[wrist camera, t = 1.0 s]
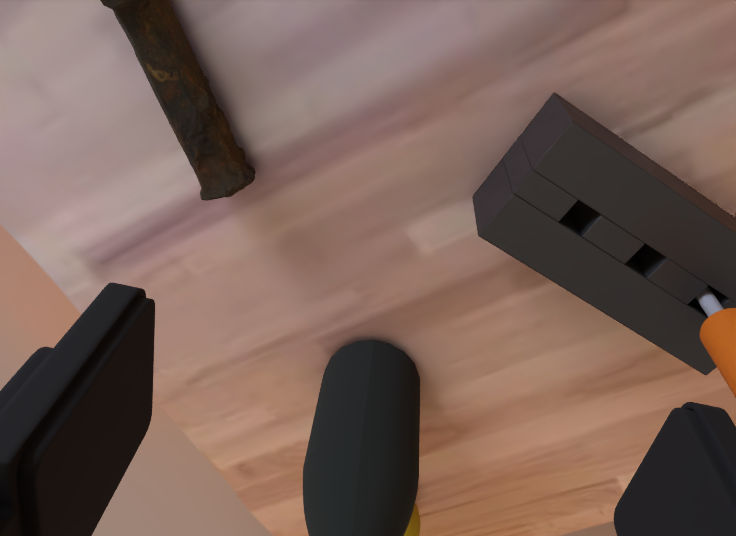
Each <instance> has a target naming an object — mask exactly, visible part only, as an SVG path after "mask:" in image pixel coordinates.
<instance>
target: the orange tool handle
mask: <svg viewBox="0 0 736 536" xmlns="http://www.w3.org/2000/svg"><path fill="white" fill-rule="evenodd" d="M695 298H696V299H697V301H698V302H699V304H700V305H701V307H702V308H703V310H704V311H705V313H706V314H707V316H708V318H707V319H706V320H705V321H704V323H703V324H702V326H701V329H700V339H701V342H702V343H703V345H704V347H705V348H706V350H707V351H708V353H709V355H710V356H711V358H712V360H713V361H714V363H715V365H716V366H717V368H718V369H719V371H720V373H721V374H722V376H723V378H724V379H725V381H726V382H727V384H728V386H729V387H730V389H731V391H732V392H733V394H734V396H735V397H736V308H728V309H724V308H723V307H722V306H721V304H720V303H719V301H718V300H717V299H716V297H715V296H714V294H713V293H712V292H711V290H710V289H709V287H708V286H707V287H706V288H705V289H704V290H703V291H702V292H701V293H700V294H699V295H697V296H696V297H695Z"/></svg>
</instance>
